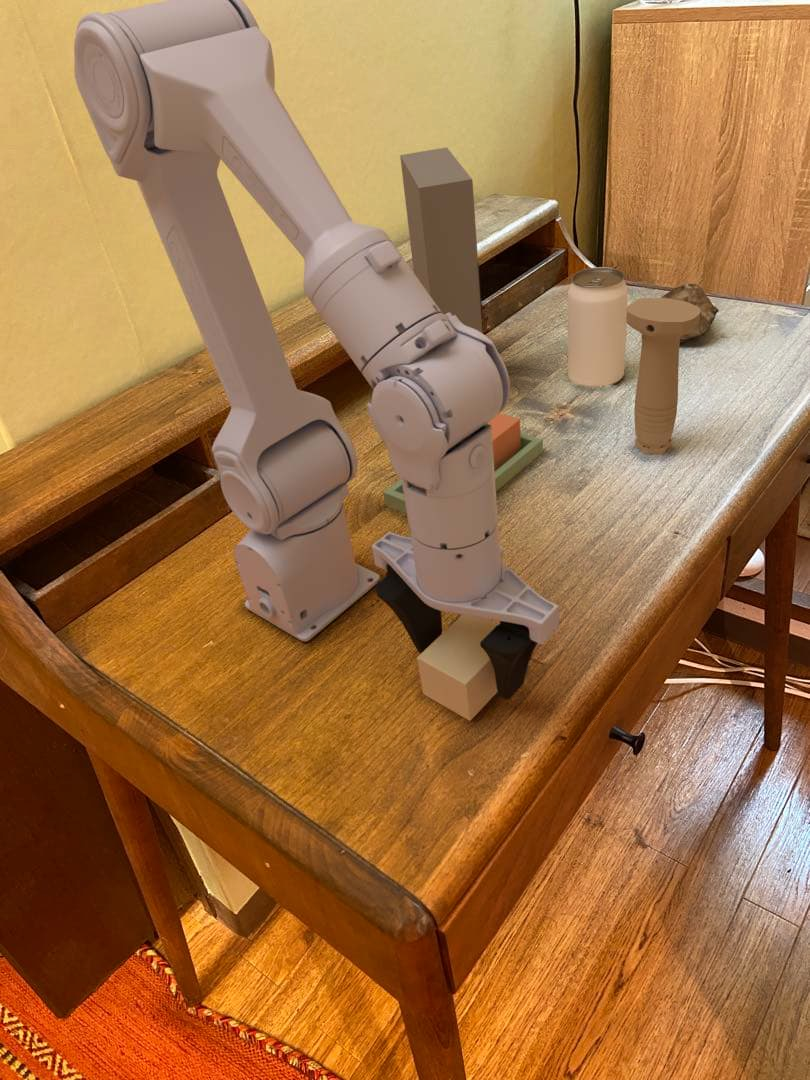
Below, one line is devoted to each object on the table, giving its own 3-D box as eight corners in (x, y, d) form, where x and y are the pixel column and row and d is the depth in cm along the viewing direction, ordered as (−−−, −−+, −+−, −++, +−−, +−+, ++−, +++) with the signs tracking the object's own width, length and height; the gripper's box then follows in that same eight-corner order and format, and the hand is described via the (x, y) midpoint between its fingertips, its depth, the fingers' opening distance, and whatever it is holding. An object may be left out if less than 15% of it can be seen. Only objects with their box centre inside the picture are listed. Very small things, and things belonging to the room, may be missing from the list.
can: (632, 368, 97) (637, 268, 90) (611, 393, 93) (615, 291, 86) (580, 360, 100) (581, 263, 93) (558, 384, 96) (557, 285, 89)
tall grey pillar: (495, 408, 94) (481, 178, 78) (442, 417, 93) (418, 188, 78) (470, 356, 104) (454, 145, 89) (423, 365, 104) (398, 154, 89)
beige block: (470, 721, 59) (465, 684, 57) (422, 694, 62) (416, 657, 59) (518, 670, 62) (515, 632, 60) (470, 646, 65) (466, 609, 62)
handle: (671, 470, 80) (685, 326, 71) (612, 453, 84) (617, 314, 74) (693, 447, 83) (709, 305, 73) (634, 431, 86) (642, 294, 77)
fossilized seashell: (734, 324, 97) (706, 305, 106) (707, 279, 95) (680, 263, 103) (678, 363, 99) (655, 341, 108) (650, 320, 97) (629, 301, 106)
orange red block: (487, 481, 82) (484, 447, 79) (451, 468, 84) (448, 435, 82) (521, 452, 85) (520, 419, 82) (486, 441, 87) (483, 408, 85)
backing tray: (449, 535, 76) (447, 518, 75) (385, 508, 81) (382, 491, 80) (543, 455, 85) (542, 439, 84) (480, 435, 89) (479, 419, 88)
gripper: (585, 525, 51) (583, 674, 59) (408, 460, 59) (428, 599, 67) (519, 589, 47) (527, 740, 55) (340, 511, 55) (370, 652, 63)
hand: (469, 667), depth 61 cm, fingers open, 7 cm apart
